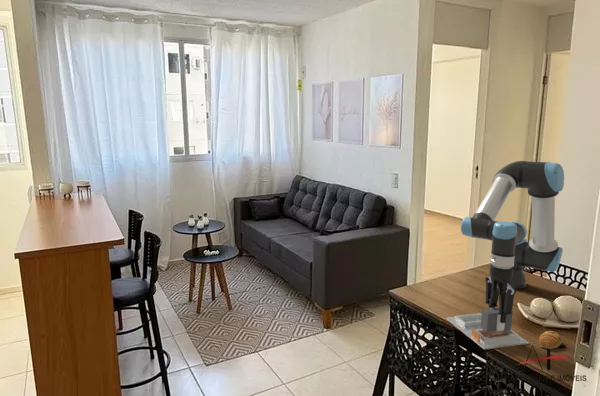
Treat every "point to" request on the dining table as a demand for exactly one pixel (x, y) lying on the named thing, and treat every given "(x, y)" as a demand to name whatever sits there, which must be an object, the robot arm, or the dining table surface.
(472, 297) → the dining table surface
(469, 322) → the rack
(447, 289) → the dining table surface
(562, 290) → the dining table surface
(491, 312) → the grey rectangular block
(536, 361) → the dining table surface
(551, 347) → the pastry
